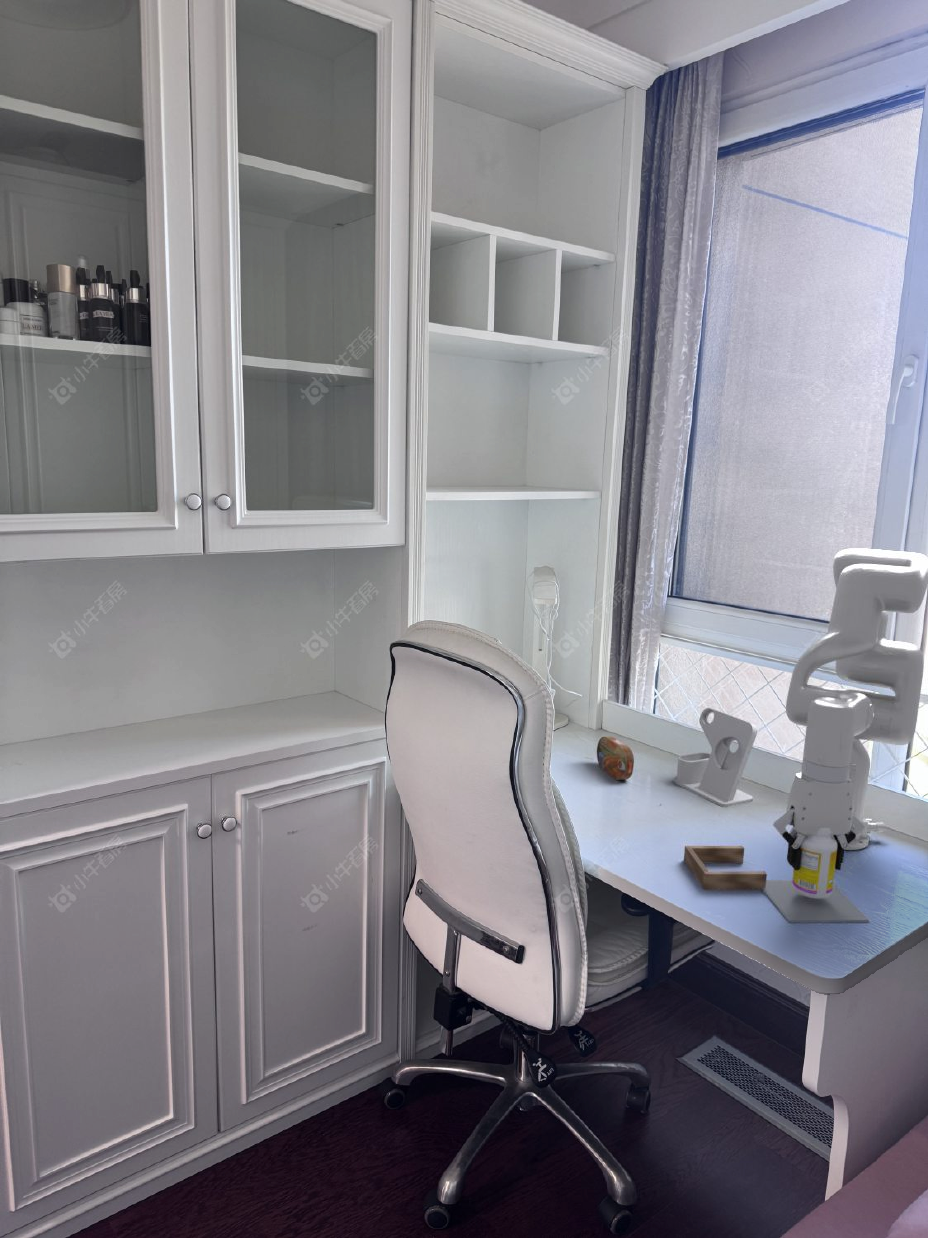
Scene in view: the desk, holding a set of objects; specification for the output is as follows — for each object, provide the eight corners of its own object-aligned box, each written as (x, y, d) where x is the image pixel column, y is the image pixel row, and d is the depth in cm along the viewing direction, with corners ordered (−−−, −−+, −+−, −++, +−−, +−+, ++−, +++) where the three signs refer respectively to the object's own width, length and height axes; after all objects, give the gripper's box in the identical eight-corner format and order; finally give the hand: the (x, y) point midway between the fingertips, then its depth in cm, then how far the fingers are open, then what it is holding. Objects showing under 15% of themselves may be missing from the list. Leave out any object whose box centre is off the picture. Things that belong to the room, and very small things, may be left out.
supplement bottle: (821, 882, 155) (829, 815, 153) (838, 900, 149) (847, 831, 146) (785, 881, 155) (792, 814, 153) (800, 900, 148) (808, 830, 146)
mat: (828, 882, 160) (829, 880, 159) (868, 922, 146) (869, 920, 146) (755, 882, 158) (755, 880, 158) (788, 922, 145) (789, 920, 145)
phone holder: (670, 781, 208) (676, 709, 205) (702, 775, 213) (708, 705, 209) (723, 807, 193) (730, 730, 189) (755, 800, 198) (763, 725, 194)
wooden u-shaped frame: (740, 860, 167) (742, 846, 166) (765, 889, 156) (766, 874, 155) (683, 860, 166) (684, 846, 166) (703, 889, 155) (705, 874, 154)
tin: (594, 763, 218) (596, 732, 216) (606, 763, 219) (608, 731, 217) (622, 785, 204) (625, 751, 202) (634, 784, 205) (637, 750, 203)
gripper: (862, 763, 152) (850, 857, 155) (767, 762, 151) (757, 857, 154) (885, 778, 145) (872, 877, 148) (785, 778, 143) (775, 877, 147)
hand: (814, 866), depth 151 cm, fingers closed on supplement bottle, 6 cm apart
